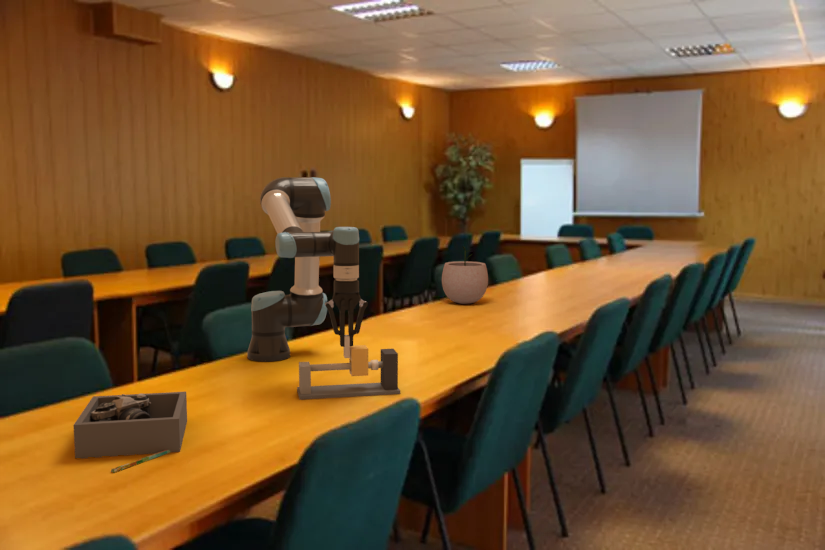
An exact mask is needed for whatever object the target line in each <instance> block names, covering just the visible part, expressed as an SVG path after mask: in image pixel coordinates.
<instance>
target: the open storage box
mask: <svg viewBox="0 0 825 550" xmlns="http://www.w3.org/2000/svg"><path fill="white" fill-rule="evenodd" d="M138 394H139V393H136V394H126V395H127V397H131V398H132V399H135V398H136V397H137V395H138ZM144 394H145V395H146V396H147V397H148V398H149V402H151V404H150V405H149V406H150V416H151V417H152V418H150V419H134V420H117V421H100V422H91V412H93V411H95V410H96V408H97V407H98V406H99V405H100V404H102V403H105V402H106V403H112V401H113V400H114V399H115V397H116V396H121V395H122V394H117V395H116V394H115V395H97V396H92V397H91V399H90V400H89V401H88V403H87V404H86V406H85V407H84V409H83V410H82V412H81V413H80V415H79V417H78V418H77V419H76V421H75V422H74V423H73V425H72V426H73V439H74V441H73V443H74V459H75V458H81V459H89V458H88V457H95V458H103V457H102V456H110V457H119V456H118V455H124V456H135V454H136V455H137V454H138V455H153V454H155V453H158V452H161V451H164V450H170V451H171V452H170V453H178V452H179V453H180V452H181V450H182V447H183V445H182V444H183V441H184V436H185V431H186V428H187V424H188V409H187V407H188V404H187V401H188V400H187V391H171V392H152V393H144ZM138 455H137V456H138Z"/></svg>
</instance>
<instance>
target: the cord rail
mask: <svg viewBox="0 0 825 550" xmlns="http://www.w3.org/2000/svg"><path fill="white" fill-rule="evenodd" d="M349 369H351V363H349V362H342V363H341V362H339V363H336V362H335V363H319V364H318V363H317V364H311V363H310V361H299V362H298V380H299V381H298V386H297V387H296V390H297V395H298V400H319V399H334V398H336V399H337V398H351V397H368V396H370V397H371V396H385V395H386V396H388V395H389V396H390V395H401V390H400V388H399V384H398V383H399V382H398V381H399V376H398V375H399V353H398V352H397V350H395V349H394V348H380V361H379V360H378V359H370V361H368V370H371V371H378V370H379V369H380V382H366V383H350V384H349V383H348V384H347V383H346V384H331V385H330V384H329V385H312V376H311V375H312V372H323V371H324V372H327V371H328V372H329V371H345V370H347V371H348V370H349Z"/></svg>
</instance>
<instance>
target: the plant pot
mask: <svg viewBox="0 0 825 550" xmlns="http://www.w3.org/2000/svg"><path fill="white" fill-rule="evenodd" d="M462 248H463V250H464V261H448V262H445V263H444V265H443V269H442V274H441V287H442V290H443V292H444V294H445V296H446V297H447V298H448V299H449V300H450V301H451V302H453V303H456V304H462V305H471V304H474V303H476V302H478V301H480V300H481V299H482V298H483V297H484V295H485V294H486V292H487V289H488V286H489V274H488V268H487V265H486V263H485V262H480V261H468V259H469V257H471V256H472V255H473V253H471V254H469V255H468V256H467V252H468V253H469V252H470V251H472V250H471V249H469V250H468V249H466V247H465V246H463V245H462Z"/></svg>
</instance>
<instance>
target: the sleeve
mask: <svg viewBox="0 0 825 550" xmlns="http://www.w3.org/2000/svg"><path fill="white" fill-rule="evenodd" d="M348 359H349V362H348V363H351V369H349V372H348V373H349V374H350V375H351V377H364V376H365V377H366V376H369V369H368V362H369V347H368V346H367V345H366V344H359V345H358V344H356V345H355V344H354V345H353V346H350V358H348Z"/></svg>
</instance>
